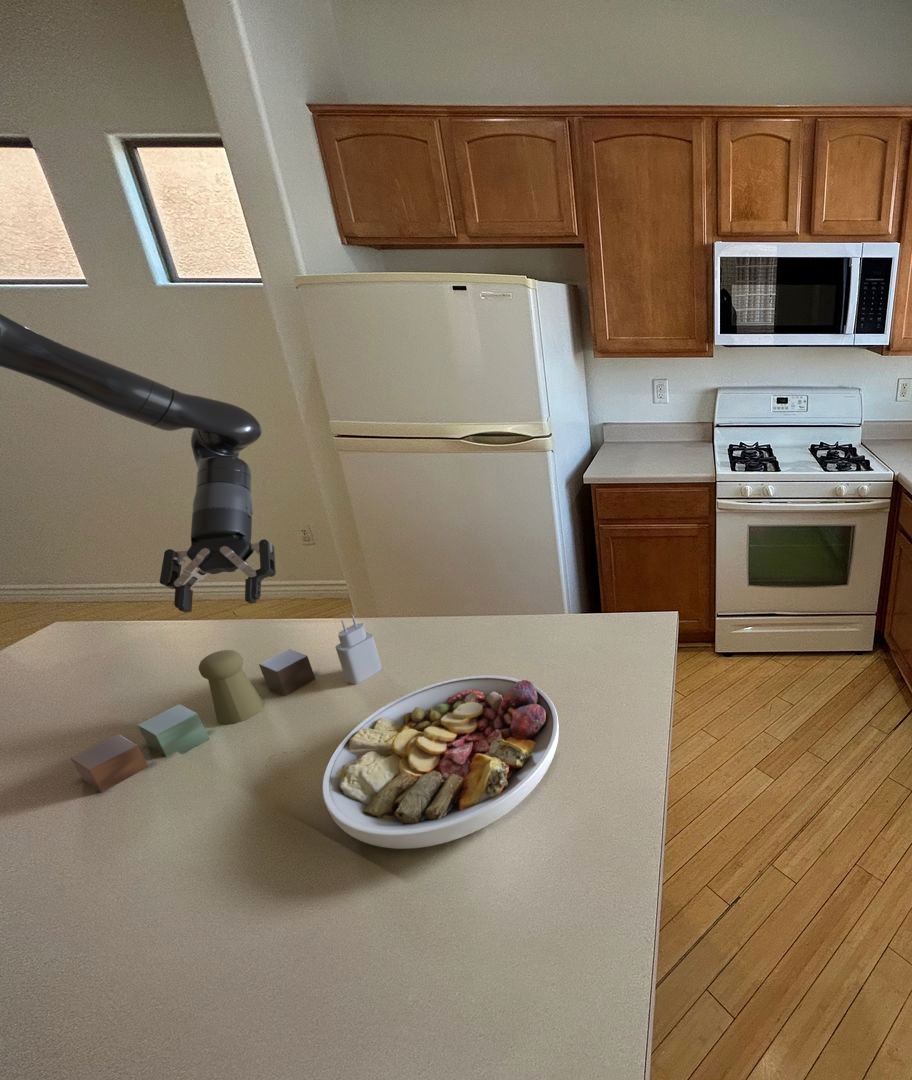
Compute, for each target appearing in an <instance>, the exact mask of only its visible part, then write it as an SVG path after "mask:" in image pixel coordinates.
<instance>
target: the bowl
mask: <svg viewBox="0 0 912 1080" xmlns="http://www.w3.org/2000/svg"><path fill="white" fill-rule="evenodd" d="M559 732H560V728H559V718H558V713H557V709H556V707H555V705H554V703H553V702H552V700H551V698H550V697H549V696H548V695H547V694H546V693H545V692H544V691H543V690H542V689H540V688H538V687H537V686H535V685H534V684H533V682H531V681H529V680H528V679H527V680H525V679H523V680H522V679H519V678H515V677H510V676H504V675H503V676H502V675H471V676H464V677H457V678H451V679H448V680H444V681H440V682H436V683H432V684H429V685H427V686H424V687H421V688H418V689H416V690H413V691H411V692H409V693H407V694H405V695H403V696H401V697H399V698H396V699H395V700H393V701H391V702H389V703H387V704H386V705H384V706H383V707H381V708H379V709H378V710H376V711H374V712H373V713H372V714H371V715H369V716H368V717H367V718H365V719H364V720H362V722H361V723H359V724H358V725H357V726H356V727H355V728H353V729H352V731H351V732H350V733H348V735H346V737H345V738H344V739H343V740H342V741H341V742H340V744H339V745H338V747H337V748H336V749H335V751H334V752H333V754H332V756H331V757H330V759H329V761H328V763H327V765H326V768H325V771H324V773H323V777H322V788H321V789H322V797H323V801H324V804H325V807H326V809H327V811H328V813H329V815H330V817H331V818H332V820H333V822H334V823H335V824H336V825H337V826H338V827H339V828H340V829H341V830H342V831H343V832H344V833H346V834H347V835H349V836H351V837H352V838H354V839H356V840H357V841H360V842H363V843H365V844H367V845H370V846H375V847H379V848H387V849H399V850H400V849H402V850H403V849H405V850H407V849H408V850H409V849H421V848H428V847H432V846H437V845H441V844H445V843H449V842H452V841H455V840H458V839H460V838H463V837H466V836H468V835H471V834H473V833H476V832H478V831H480V830H482V829H484V828H485V827H487V826H489V825H491V824H492V823H495V822H496V821H497V820H499V819H500V818H502V817H504V816H505V815H506V814H507V813H509V812H510V811H511V810H513V809H515V807H517V806H518V805H520V803H521V802H522V801H524V800H525V798H526V797H528V796H529V795H530V793H532V791H533V790H534V789H535V788H536V787H537V786H538V785H539V783H540V782H541V780H542V778H544V776H545V775H546V773H547V771H548V769H549V768H550V765H551V763H552V762H553V759H554V757H555V754H556V750H557V747H558V742H559V735H560V734H559Z"/></svg>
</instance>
